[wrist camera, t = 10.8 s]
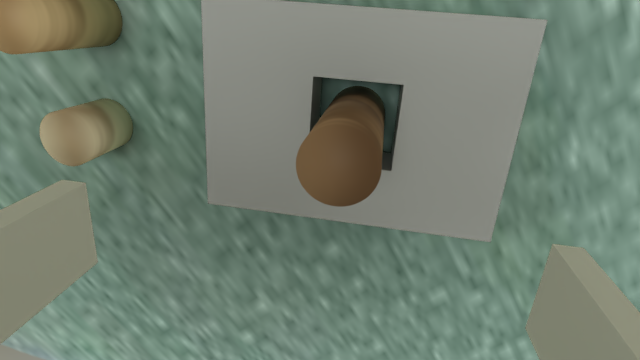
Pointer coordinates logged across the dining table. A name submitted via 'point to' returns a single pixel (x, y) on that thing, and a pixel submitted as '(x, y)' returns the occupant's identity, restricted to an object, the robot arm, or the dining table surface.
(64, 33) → the medium pin
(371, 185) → the long pin
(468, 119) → the hole board
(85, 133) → the short pin
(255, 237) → the dining table surface
